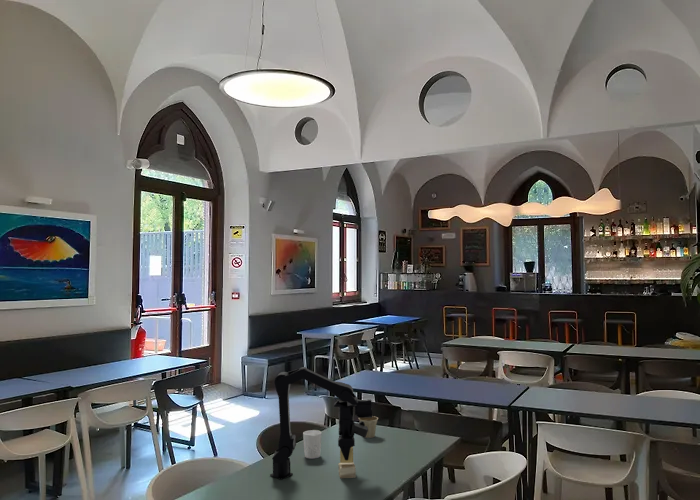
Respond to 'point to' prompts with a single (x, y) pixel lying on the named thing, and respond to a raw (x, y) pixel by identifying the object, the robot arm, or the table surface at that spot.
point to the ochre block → (350, 459)
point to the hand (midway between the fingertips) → (346, 457)
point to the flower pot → (370, 425)
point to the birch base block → (347, 470)
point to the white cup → (312, 443)
